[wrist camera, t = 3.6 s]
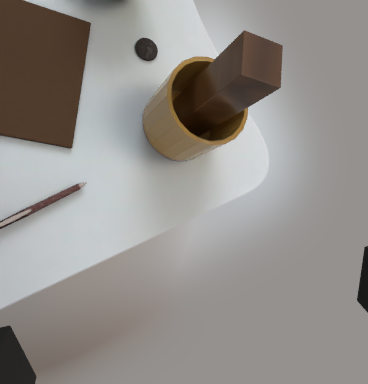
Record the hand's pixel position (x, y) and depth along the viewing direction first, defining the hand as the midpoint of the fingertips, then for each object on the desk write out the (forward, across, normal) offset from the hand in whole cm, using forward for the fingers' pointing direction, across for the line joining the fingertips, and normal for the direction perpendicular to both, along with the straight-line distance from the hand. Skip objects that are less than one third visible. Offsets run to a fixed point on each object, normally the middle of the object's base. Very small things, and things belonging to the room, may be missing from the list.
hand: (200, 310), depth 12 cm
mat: (+33, -16, +9) cm, 38 cm away
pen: (+26, -13, -6) cm, 30 cm away
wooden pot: (+35, +4, -2) cm, 35 cm away
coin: (+39, +2, +7) cm, 40 cm away
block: (+34, +4, -2) cm, 35 cm away
